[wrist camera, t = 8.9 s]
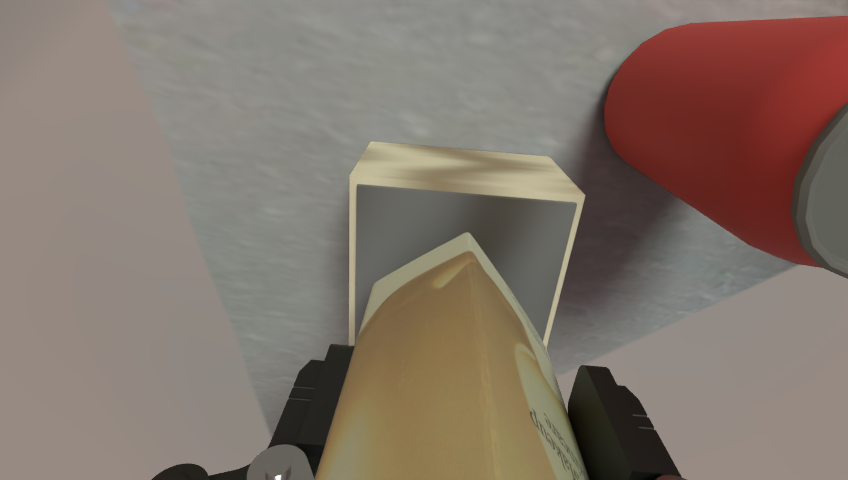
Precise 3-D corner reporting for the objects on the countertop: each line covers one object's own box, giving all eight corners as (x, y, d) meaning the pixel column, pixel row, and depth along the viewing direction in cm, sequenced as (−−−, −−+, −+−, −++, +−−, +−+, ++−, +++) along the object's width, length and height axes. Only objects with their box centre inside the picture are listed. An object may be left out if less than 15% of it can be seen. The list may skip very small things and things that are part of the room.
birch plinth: (549, 156, 22) (587, 197, 16) (518, 305, 25) (540, 378, 20) (370, 141, 21) (348, 177, 16) (366, 293, 25) (347, 363, 20)
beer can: (750, 139, 21) (1085, 250, 10) (614, 187, 22) (784, 333, 11) (737, -4, 18) (1166, -58, 8) (584, 60, 20) (766, 92, 9)
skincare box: (549, 346, 17) (760, 934, 6) (454, 390, 18) (483, 952, 7) (464, 219, 15) (549, 783, 4) (363, 278, 16) (192, 845, 5)
